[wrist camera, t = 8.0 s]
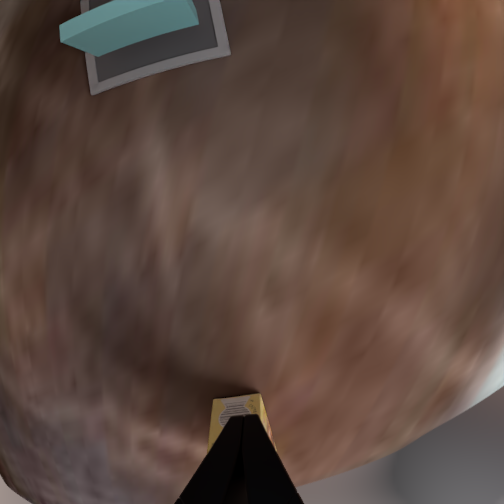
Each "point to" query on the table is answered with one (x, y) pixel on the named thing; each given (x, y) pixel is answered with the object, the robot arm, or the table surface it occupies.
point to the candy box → (234, 407)
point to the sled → (126, 24)
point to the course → (159, 49)
